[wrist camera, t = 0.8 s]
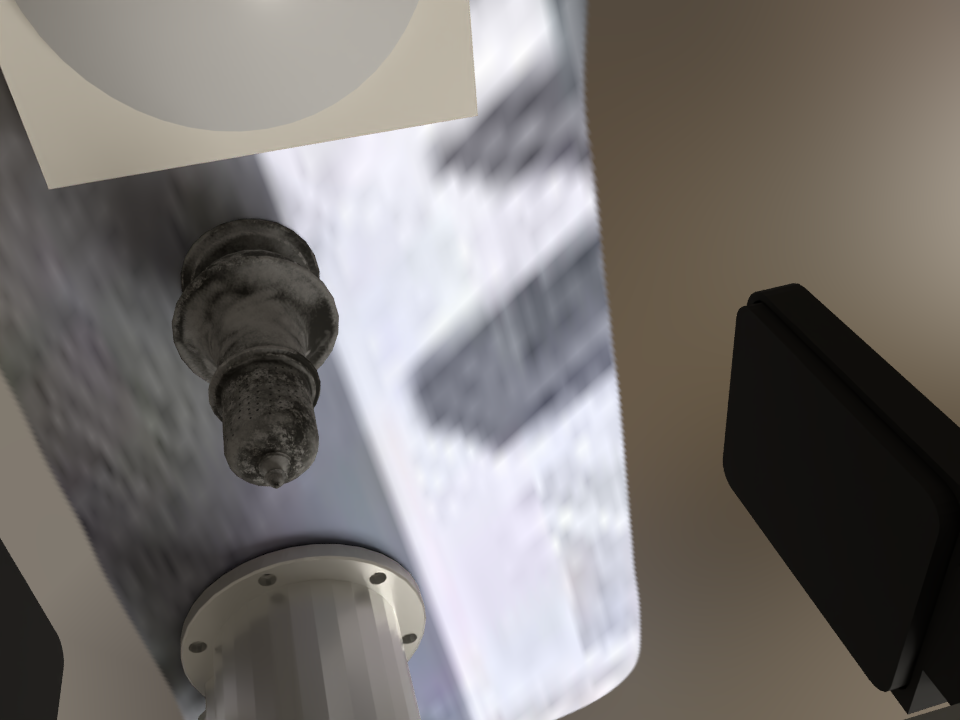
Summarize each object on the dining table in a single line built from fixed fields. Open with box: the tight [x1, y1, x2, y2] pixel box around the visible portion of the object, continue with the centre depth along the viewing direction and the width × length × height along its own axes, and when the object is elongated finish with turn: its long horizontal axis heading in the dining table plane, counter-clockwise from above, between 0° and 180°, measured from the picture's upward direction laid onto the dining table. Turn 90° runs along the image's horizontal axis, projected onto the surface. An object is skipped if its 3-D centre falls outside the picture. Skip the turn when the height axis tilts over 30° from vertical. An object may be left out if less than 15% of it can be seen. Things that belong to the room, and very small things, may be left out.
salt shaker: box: [172, 219, 339, 488], centre depth 31 cm, size 6×6×12 cm
